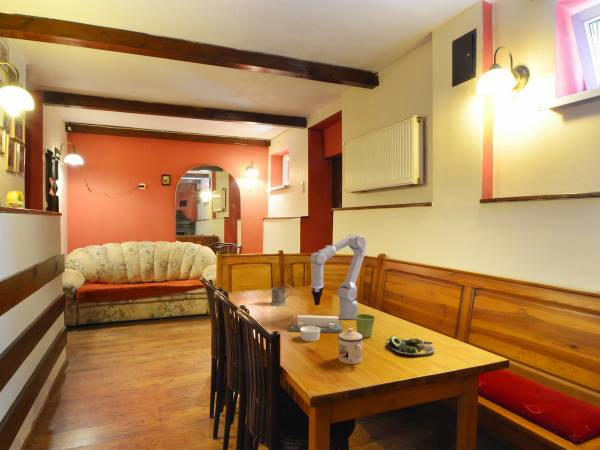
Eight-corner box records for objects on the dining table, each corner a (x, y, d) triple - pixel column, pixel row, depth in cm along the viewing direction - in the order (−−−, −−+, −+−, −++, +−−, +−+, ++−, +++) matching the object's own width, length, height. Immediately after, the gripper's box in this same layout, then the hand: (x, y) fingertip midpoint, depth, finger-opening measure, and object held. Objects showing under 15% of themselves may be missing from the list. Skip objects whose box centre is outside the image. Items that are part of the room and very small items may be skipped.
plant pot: (376, 333, 167) (376, 314, 167) (373, 340, 158) (374, 320, 158) (356, 331, 170) (356, 313, 170) (352, 338, 161) (352, 318, 161)
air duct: (338, 324, 176) (338, 316, 176) (338, 327, 172) (338, 318, 172) (294, 323, 178) (294, 314, 178) (293, 325, 174) (293, 316, 174)
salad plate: (421, 340, 159) (421, 329, 159) (447, 355, 142) (447, 343, 142) (380, 343, 155) (380, 332, 155) (401, 359, 138) (401, 347, 137)
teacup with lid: (333, 357, 138) (333, 326, 138) (354, 354, 142) (354, 324, 142) (350, 369, 127) (350, 336, 127) (372, 365, 131) (372, 332, 131)
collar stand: (341, 325, 180) (341, 318, 180) (342, 333, 168) (342, 325, 168) (292, 323, 182) (292, 316, 182) (289, 331, 170) (289, 323, 170)
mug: (267, 305, 221) (267, 285, 221) (274, 301, 230) (274, 282, 230) (289, 307, 216) (289, 287, 215) (295, 304, 225) (296, 284, 224)
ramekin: (316, 343, 155) (316, 332, 154) (297, 340, 158) (297, 330, 158) (322, 336, 163) (322, 327, 163) (304, 334, 166) (304, 325, 166)
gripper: (310, 274, 193) (310, 299, 193) (308, 278, 179) (308, 306, 179) (324, 274, 192) (323, 300, 193) (323, 278, 178) (323, 306, 178)
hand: (317, 303), depth 186 cm, fingers open, 7 cm apart
